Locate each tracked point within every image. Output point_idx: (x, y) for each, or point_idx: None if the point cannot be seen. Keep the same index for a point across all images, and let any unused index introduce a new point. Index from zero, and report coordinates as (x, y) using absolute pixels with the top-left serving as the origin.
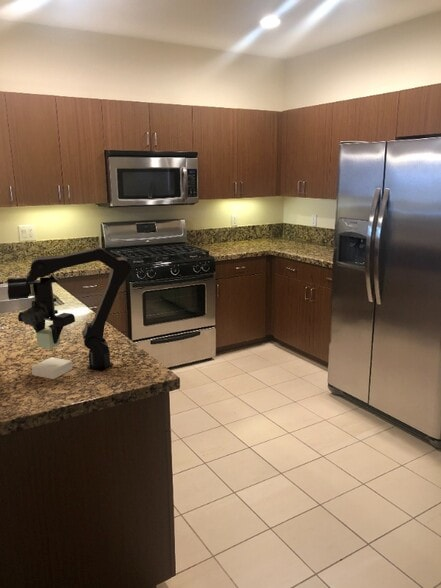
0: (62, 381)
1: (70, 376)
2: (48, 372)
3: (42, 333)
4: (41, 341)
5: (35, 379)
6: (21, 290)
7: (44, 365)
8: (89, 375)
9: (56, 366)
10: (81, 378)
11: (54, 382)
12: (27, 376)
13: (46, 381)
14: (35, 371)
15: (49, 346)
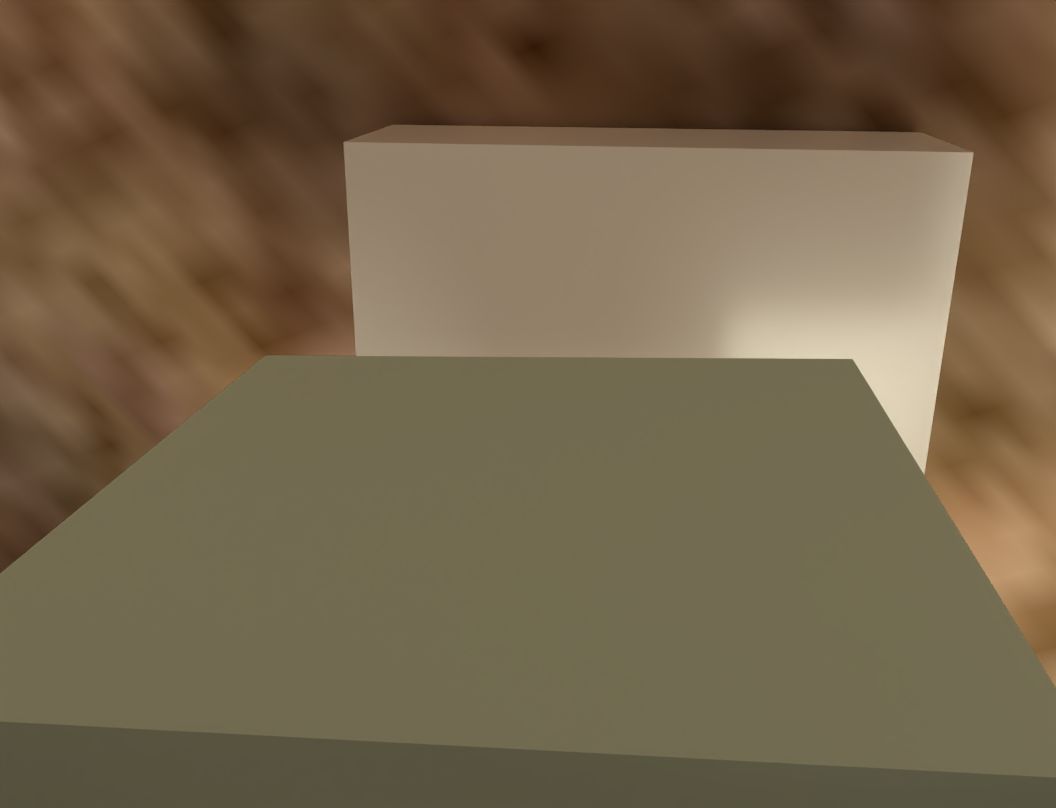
0: (211, 131)
1: (247, 345)
2: (481, 139)
3: (400, 749)
4: (617, 457)
5: (735, 6)
6: None
7: (719, 308)
8: (21, 472)
9: (435, 348)
10: (36, 342)
11: (303, 39)
12: (997, 60)
13: (468, 16)
14: (844, 140)
15: (245, 390)
